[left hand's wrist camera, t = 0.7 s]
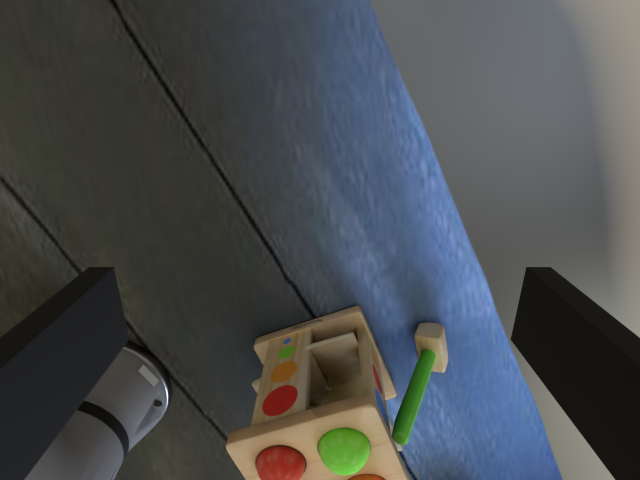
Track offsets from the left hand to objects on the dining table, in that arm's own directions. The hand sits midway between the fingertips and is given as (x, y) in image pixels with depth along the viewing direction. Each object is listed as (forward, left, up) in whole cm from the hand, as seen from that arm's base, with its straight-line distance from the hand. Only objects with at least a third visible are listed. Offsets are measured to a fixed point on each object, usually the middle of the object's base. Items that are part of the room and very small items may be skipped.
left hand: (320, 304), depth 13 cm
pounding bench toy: (-13, -23, -31) cm, 40 cm away
